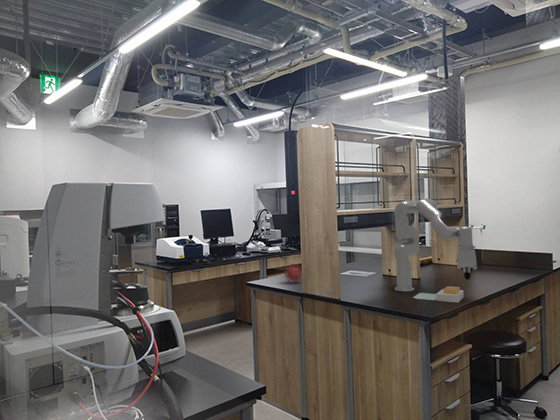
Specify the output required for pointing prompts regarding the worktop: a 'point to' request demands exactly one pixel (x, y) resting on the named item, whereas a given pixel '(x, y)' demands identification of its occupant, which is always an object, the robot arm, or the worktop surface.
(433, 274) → the worktop surface
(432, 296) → the mat
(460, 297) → the platform
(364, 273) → the worktop surface
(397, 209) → the robot arm
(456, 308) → the worktop surface
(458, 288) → the slide box
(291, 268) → the virus model
